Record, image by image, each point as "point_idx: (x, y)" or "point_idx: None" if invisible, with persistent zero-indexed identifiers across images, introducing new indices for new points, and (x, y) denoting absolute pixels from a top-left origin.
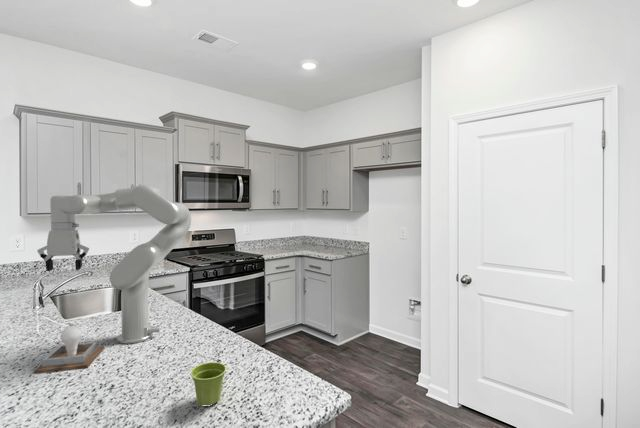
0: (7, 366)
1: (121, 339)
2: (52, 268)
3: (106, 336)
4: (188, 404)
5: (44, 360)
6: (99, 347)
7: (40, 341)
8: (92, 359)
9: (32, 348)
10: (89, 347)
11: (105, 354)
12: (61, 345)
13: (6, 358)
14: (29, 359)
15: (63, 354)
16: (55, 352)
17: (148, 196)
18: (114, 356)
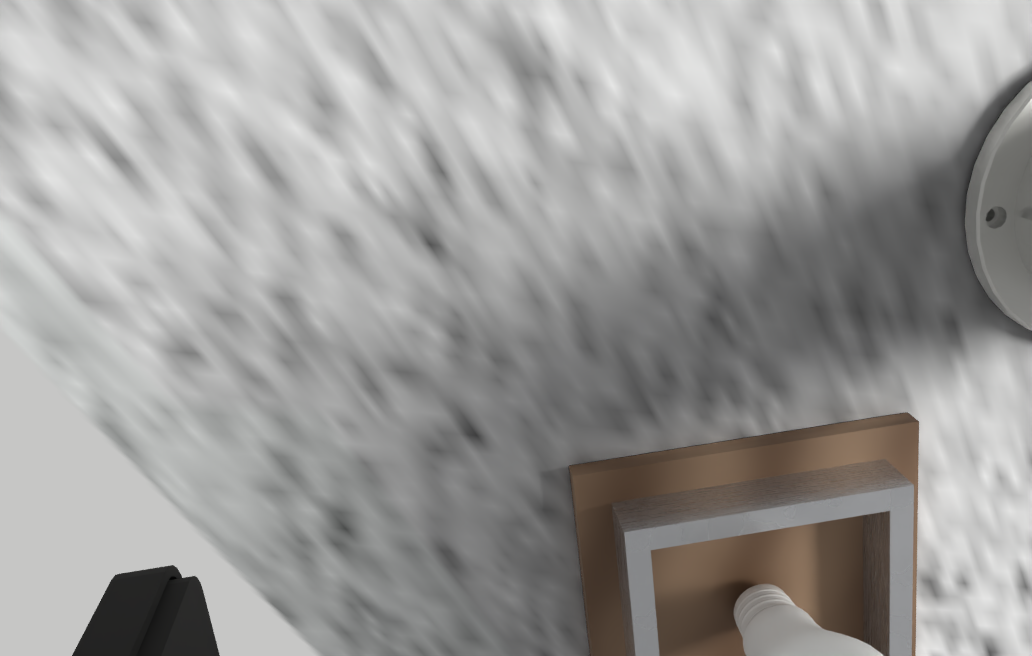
0: (329, 650)
1: (1027, 302)
2: (200, 641)
3: (826, 122)
4: None
5: None
6: (890, 443)
7: (216, 179)
8: (914, 633)
9: (268, 346)
10: (891, 593)
11: (951, 511)
12: (639, 540)
13: (200, 525)
14: (410, 554)
15: (664, 550)
16: (656, 642)
17: None
18: (1025, 548)
